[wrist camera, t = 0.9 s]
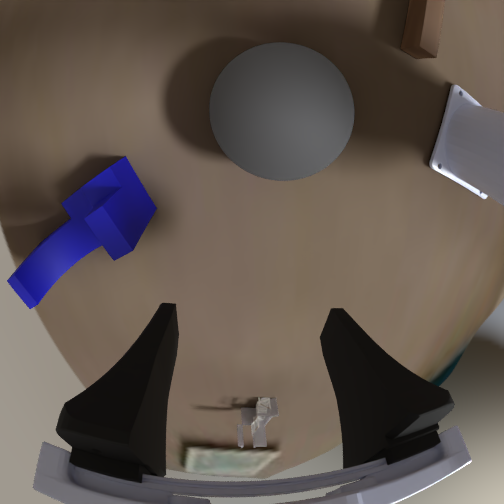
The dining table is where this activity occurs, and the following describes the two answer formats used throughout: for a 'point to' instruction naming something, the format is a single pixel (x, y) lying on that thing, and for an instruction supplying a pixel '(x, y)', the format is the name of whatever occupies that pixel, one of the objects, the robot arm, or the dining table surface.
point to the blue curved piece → (88, 229)
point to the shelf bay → (423, 28)
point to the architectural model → (257, 420)
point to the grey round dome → (281, 111)
